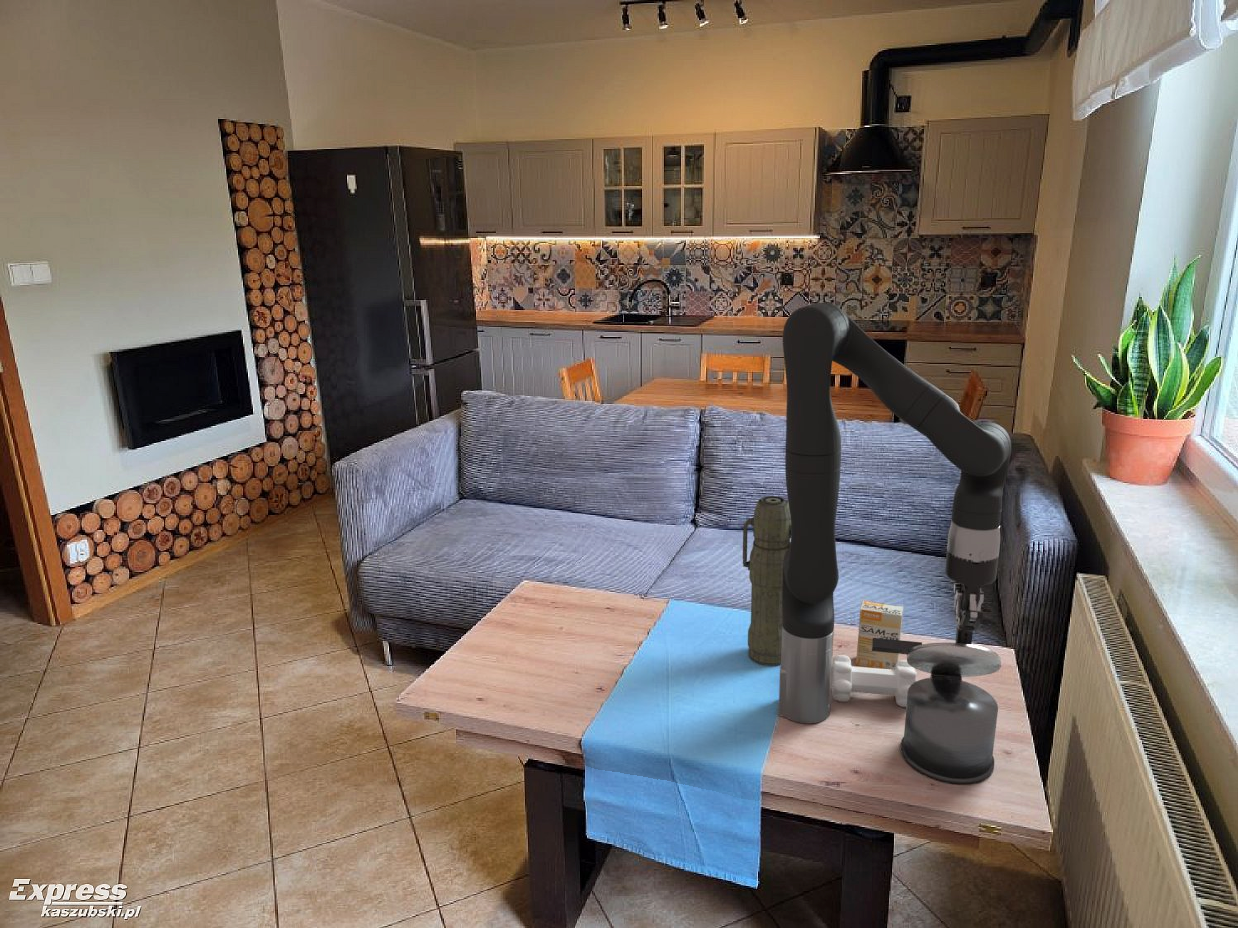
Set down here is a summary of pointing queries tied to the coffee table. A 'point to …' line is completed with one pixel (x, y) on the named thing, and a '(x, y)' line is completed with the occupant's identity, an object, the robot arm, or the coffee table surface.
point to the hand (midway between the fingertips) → (963, 647)
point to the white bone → (871, 680)
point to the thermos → (767, 577)
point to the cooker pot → (950, 730)
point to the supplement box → (878, 633)
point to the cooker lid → (943, 657)
